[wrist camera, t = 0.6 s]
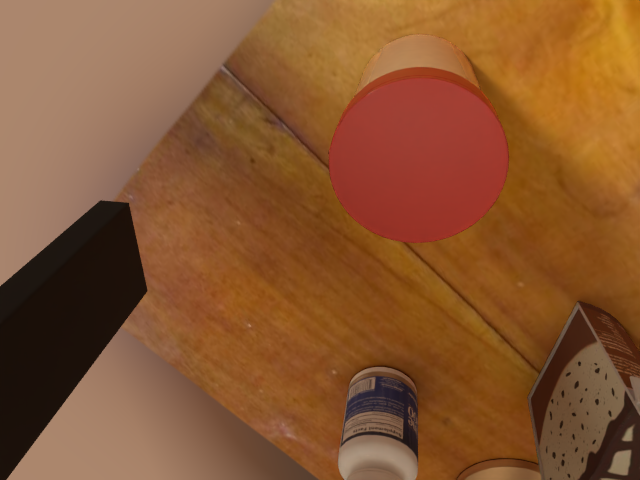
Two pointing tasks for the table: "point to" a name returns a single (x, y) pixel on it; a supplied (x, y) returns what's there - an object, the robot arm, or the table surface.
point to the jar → (417, 58)
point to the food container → (588, 401)
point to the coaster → (502, 470)
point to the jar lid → (418, 155)
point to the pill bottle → (380, 427)
